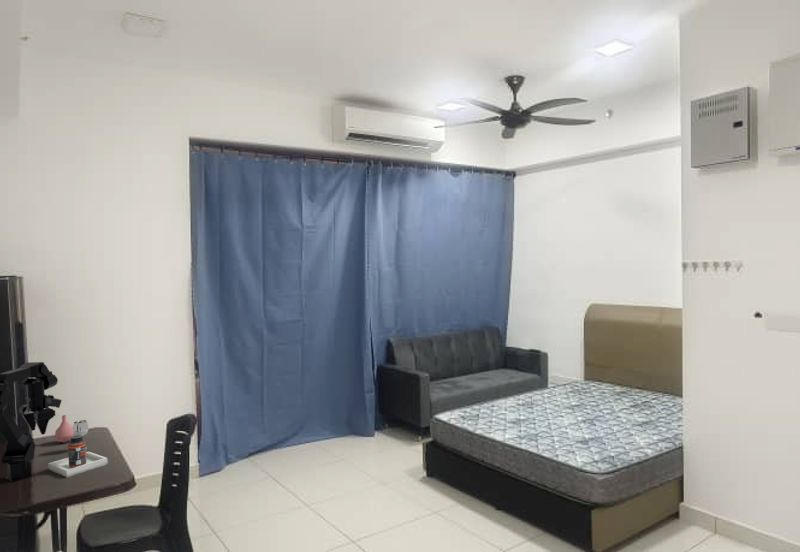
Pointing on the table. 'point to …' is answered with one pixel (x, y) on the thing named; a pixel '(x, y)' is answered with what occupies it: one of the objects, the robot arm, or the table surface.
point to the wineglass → (80, 428)
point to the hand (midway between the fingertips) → (38, 432)
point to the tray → (67, 471)
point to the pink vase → (64, 431)
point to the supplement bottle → (77, 451)
